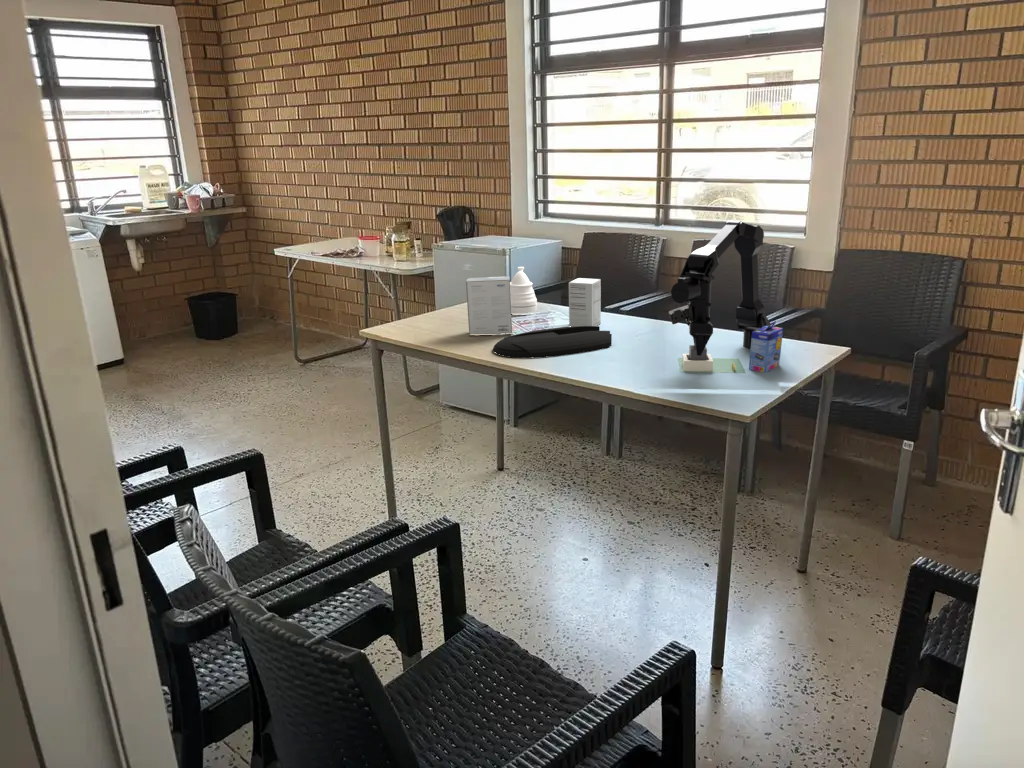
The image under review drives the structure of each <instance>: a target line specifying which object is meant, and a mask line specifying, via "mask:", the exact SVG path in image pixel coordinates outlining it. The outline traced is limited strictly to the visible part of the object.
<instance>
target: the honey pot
mask: <svg viewBox="0 0 1024 768" xmlns="http://www.w3.org/2000/svg"><path fill="white" fill-rule="evenodd" d="M524 270H525V266H518V267H517V272H516V273H515V274H514V276H513V278H512V279H511V281H510V293H511V313H528V312H534V311H536V310H537V311H538V299H537V297H536V294H535V290H534V288H533V282H532V281H530V279H529V277H528V276H527V275H526V273H525V272H524Z"/></svg>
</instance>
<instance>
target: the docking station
mask: <svg viewBox="0 0 1024 768" xmlns="http://www.w3.org/2000/svg"><path fill="white" fill-rule="evenodd" d="M612 334H613V333H611V330H600V325H597V326H574V327H569V326H563V327H552V328H544V329H539V330H538V329H537V330H531V331H525V332H521V333H518V334H512V335H507V336H506V337H505V336H504V338H502V339H501V340H499V341H497V342H496V343H495V344H494V345H493V348H492V352H493V351H494V352H496V353H497V354H500V355H504V356H510V357H509V358H513V357H543V358H547V357H546V356H553V357H561V355H562V356H568V355H577V354H584V353H588V352H594V351H601V350H604V349H608V348H610V347H611V346H612V340H613V339H612ZM600 349H601V350H600ZM494 352H493V353H494ZM497 354H496V355H497ZM500 355H499V356H500ZM504 356H503V357H504Z"/></svg>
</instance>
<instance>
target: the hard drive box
mask: <svg viewBox="0 0 1024 768" xmlns="http://www.w3.org/2000/svg"><path fill="white" fill-rule="evenodd" d="M510 278H511V277H510V276H508V275H507V276H488V277H487V276H486V277H484V276H483V277H469V278H467V279H466V280H465V287H466V288H465V289H466V303H467V307H466V308H467V319H468V321H467V322H468V335H469V334H501V333H505V334H506V333H512V334H513V321H512V319H513V318H512V315H511V293H510V282H511V279H510Z"/></svg>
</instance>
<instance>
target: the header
mask: <svg viewBox="0 0 1024 768" xmlns="http://www.w3.org/2000/svg"><path fill="white" fill-rule="evenodd" d="M681 358H682V364H683V369H684V371H713V359H712V358H713V357H712V354H711V353H707V359H706V360H689V353H682V357H681Z"/></svg>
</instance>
